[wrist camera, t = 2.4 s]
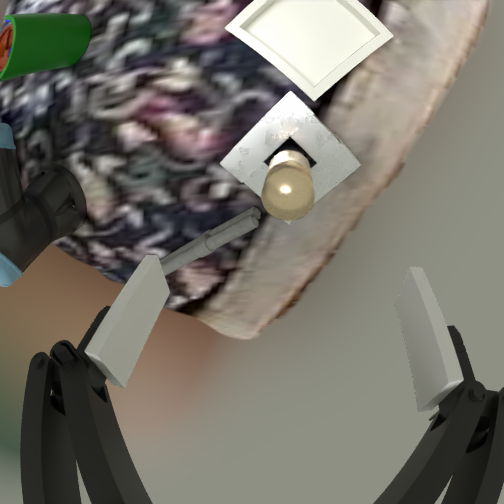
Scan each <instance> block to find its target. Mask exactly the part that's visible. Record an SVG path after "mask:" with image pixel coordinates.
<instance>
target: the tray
mask: <svg viewBox="0 0 504 504" xmlns="http://www.w3.org/2000/svg"><path fill="white" fill-rule="evenodd" d="M225 29H226V30H228V31H229V32H231V33H232V34H234V35H235V36H236V37H238V38H239V39H241V40H242V41H243V42H245V43H246V44H247V45H249V46H250V47H251V48H253V49H254V50H255V51H257V52H258V53H259V54H260V55H262V56H263V57H264V58H265V59H267V60H268V61H269V62H270V63H272V64H273V65H274V66H275V67H276V68H278V69H279V70H280V71H281V72H282V73H284V74H285V75H286V76H287V77H288V78H289V79H290V80H291V81H293V82H294V83H295V84H296V85H297V86H298V87H299V88H300V89H301V90H302V91H304V92H305V93H306V94H307V95H308V96H309V97H310V98H311V99H312V100H313V101H315V100H316V99H317V98H319V97H320V96H321V95H322V94H323V93H324V92H325V91H327V90H328V89H329V88H330V87H331V86H332V85H333V84H335V83H336V82H337V81H338V80H339V79H341V78H342V77H343V76H344V75H345V74H346V73H348V72H349V71H350V70H351V69H352V68H354V67H355V66H356V65H357V64H359V63H360V62H361V61H362V60H364V59H365V58H366V57H367V56H369V55H370V54H371V53H372V52H374V51H375V50H376V49H377V48H379V47H380V46H381V45H383V44H384V43H385V42H387V41H388V40H389V39H391V38H392V37H393V35H392V34H391V33H390V31H389V30H388V29H387V28H386V27H385V26H384V25H383V24H382V23H381V22H380V21H379V20H378V19H377V18H376V17H375V16H374V15H373V14H372V13H371V12H370V11H368V10H367V9H366V8H365V7H364V6H363V5H362V4H361V3H360V2H359V1H357V0H254V1H253V2H252V3H251V4H250V5H248V6H247V7H246V8H245V9H244V10H243V11H242V12H241V13H240V14H239V15H238V16H237V17H236V18H235V19H234V20H232V21H231V22H230V23H229V24H228V25H227V26H226V27H225Z"/></svg>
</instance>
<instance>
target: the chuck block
mask: <svg viewBox="0 0 504 504" xmlns="http://www.w3.org/2000/svg"><path fill="white" fill-rule="evenodd" d="M289 137H291V138H292V139H294V140H295V141H296V142H297V143H298V144H299V145H300V146H301V147H302V148H303V149H304V150H305V151H306V152H307V153H308V154H309V155H308V156H307V157H306V159H307V160H308V162H309V164H310V168H311V174H312V180H313V187H314V194H315V200H314V203H316V202H317V201H318V200H319V199H321V198H322V197H323V196H324V195H325V194H327V193H328V192H329V191H330V190H331V189H333V188H334V187H335V186H336V185H338V184H339V183H340V182H341V181H342V180H344V179H345V178H346V177H347V176H349V175H350V174H351V173H352V172H353V171H355V170H356V169H357V168H358V167H359V166H361V164H360V163H359V161H358V160H357V158H356V157H355V156H354V154H353V153H352V152H351V150H350V149H349V148H348V147H347V146H346V145H345V144H344V143H343V141H342V140H341V139H340V138H339V137H338V136H337V135H336V134H335V133H332V132H331V131H330V130H329V128H328V127H327V126H326V125H325V124H324V123H323V122H322V121H321V120H320V119H319V118H318V117H317V116H316V115H315V114H314V113H313V111H312V109H311V108H310V107H309V106H308V105H307V104H306V103H305V102H303V101H302V100H301V99H300V98H299V97H298V96H297V95H296V94H295V93H294V92H293V91H292V90H290V91H289V92H288V93H287V94H286V95H285V96H284V97H283V98H282V99H281V100H280V101H279V102H278V103H277V104H276V105H275V106H274V107H273V108H272V109H271V110H270V111H269V112H267V113H266V114H265V115H264V116H263V117H262V118H261V119H260V120H259V122H258V123H257V124H256V125H255V126H254V127H253V128H252V129H251V130H250V131H249V132H248V133H247V134H246V135H245V136H244V137H243V138H242V139H241V140H240V141H239V142H238V143H237V144H236V145H235V147H234V148H233V149H232V150H231V151H230V152H229V153H228V154H227V155H226V157H225V158H224V159H223V160H222V161H221V163H220V164H221V165H222V166H223V167H224V168H225V169H226V170H228V171H229V172H230V173H231V174H232V175H233V176H235V177H236V178H237V179H238V180H239V181H240V182H241V183H242V182H244V183H245V184H246V185H247V186H248V187H250V188H251V189H252V190H253V191H254V192H255V193H256V194H257V195H259V196H260V197H261V192H262V188H263V185H264V181H265V178H266V175H267V171H268V168H269V165H270V162H271V160H272V158H273V157H274V156H275V155H274V154H273V152H274V151H275V150H276V149H277V148H278V147H279V146H280V145H281V144H282V143H283V142H284V141H286V140H287V139H288V138H289ZM284 221H285V220H284ZM292 221H294V220H292ZM292 221H285V222H286V223H287V224H290V223H291V222H292Z"/></svg>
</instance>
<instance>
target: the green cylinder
mask: <svg viewBox="0 0 504 504" xmlns="http://www.w3.org/2000/svg"><path fill="white" fill-rule="evenodd" d="M4 20H6V21H5V22H11V23H12V25H9V26H7V27H6V28H5V29H4V30H3V32H2V33H1V35H0V81H4V80H7V79H11V78H15V77H19V76H23V75H27V74H31V73H36V72H41V71H46V70H52V69H58V68H65V67H69V66H72V65H73V64H75V63H76V62H77V61H78V60H79V59H80V58H81V57H82V55H83V54H84V52H85V50H86V49H87V46H88V44H89V41H90V36H91V25H90V22H89V20H88V19H87V17H85V16H83V15H78V14H61V13H30V14H14V15H6V16H5V19H4Z"/></svg>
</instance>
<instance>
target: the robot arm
mask: <svg viewBox="0 0 504 504" xmlns="http://www.w3.org/2000/svg"><path fill="white" fill-rule="evenodd" d="M15 149H16V147H15V145H14V141H13V135H12V129H11V127H10V126H9V125H8V124H5V123H2V124H0V286H2V287H8V286H10V285H11V284H12V283H13V282H14V281H15V280H16V279H17V278H19V277H20V276H21V275H22V273H23V272H24V271H25V270H26V269H27V267H28V266H29V265H30V264H31V263H32V262H33V261H34V260H35V259H36V258H37V257H38V256H39V254H40V253H41V252H42V251H43V250H44V249H45V248H46V247H47V246H48V245H49V244H50V243H51V242H53V241H55V240H57V239H60V238H62V237H64V236H67V235H69V234H72V233H73V232H75V231H76V230H77V229H78V228H79V227H80V226H81V225H82V224H83V222H84V220H85V216H86V203H85V198H84V195H83V192H82V189H81V187H80V185H79V183H78V182H77V180H76V179H75V177H74V176H73V175H72V174H71V173H70V172H69V171H68V170H67V169H65V168H64V167H62V166H59V165H49V166H47V167H46V168H44V169H42V170H41V171H40V172H38V173H37V175H36V176H35V177H34V178H33V180H32V181H31V182H30V184H29V185H28V186H27V188H26V189H25V191H24V192H23V190H22V185H21V181H20V176H19V170H18V165H17V158H16V152H15ZM169 294H170V291H169V288H168V285H167V282H166V279H165V276H164V273H163V270H162V267H161V263H160V260H159V257H158V255H146V256H145V257H144V259H143V260H142V262H141V263H140V264H139V266H138V267H137V269H136V270H135V272H134V273H133V274H132V276H131V277H130V279H129V280H128V282H127V283H126V285H125V286H124V288H123V289H122V291H121V292H120V294H119V295H118V297H117V298H116V300H115V302H114V303H113V305H112V306H106V307H105V308H104V309H103V310H101V311H100V312H99V313H98V315H97V316H96V318H95V320H94V322H93V323H92V324H91V326H90V328H89V329H88V331H87V332H86V334H85V336H84V338H83V339H82V341H81V342H80V344H79V346H78V347H77V349H75V348H74V346H73V345H72V344H71V343H70V342H69V341H67V340H62V341H59V342H57V343H56V344H55V345H54V346H53V347H52V349H51V351H50V357H51V358H50V357H49V356H48V355H47V354H46V353H44V352H39V353H37V354H36V355H34V357H33V358H32V359H31V362H30V366H29V371H28V376H27V382H26V389H25V396H24V404H23V413H22V426H21V449H20V458H21V459H20V460H21V483H22V493H23V503H24V504H81V497H80V491H79V484H78V476H77V466H76V460H77V463H78V467H79V470H80V473H81V476H82V479H83V482H84V485H85V487H86V490H87V493H88V496H89V498H90V501H91V503H92V504H152V502H151V500H150V498H149V496H148V494H147V492H146V490H145V488H144V486H143V484H142V482H141V480H140V477H139V475H138V473H137V471H136V469H135V467H134V464H133V462H132V459H131V457H130V454H129V452H128V449H127V447H126V444H125V442H124V439H123V436H122V434H121V431H120V428H119V425H118V422H117V419H116V416H115V413H114V410H113V406H112V403H111V400H110V397H109V393H108V389H107V386H106V384H105V381H106V379H108V380H109V381H110V382H111V383H112V384H114V385H116V386H119V387H122V388H125V387H126V384H127V382H128V380H129V378H130V375H131V373H132V371H133V369H134V366H135V364H136V362H137V360H138V357H139V355H140V353H141V351H142V349H143V347H144V345H145V343H146V340H147V338H148V336H149V334H150V332H151V330H152V328H153V326H154V324H155V322H156V320H157V318H158V316H159V313H160V312H161V309H162V308H163V306H164V304H165V302H166V300H167V298H168V296H169ZM395 307H396V310H397V314H398V318H399V321H400V325H401V329H402V333H403V337H404V340H405V345H406V349H407V354H408V358H409V363H410V367H411V373H412V378H413V383H414V389H415V395H416V402H417V408H418V412H423V411H428V410H432V409H434V407H436V406H437V405H438V404H439V411H438V412H436V413H435V414H434V415H433V416H432V417H431V418H430V419H429V420H430V421H431V420H432V419H433V418H434V419H433V421H432V423H431V424H430V426H429V428H428V430H427V431H426V433H425V434H424V436H423V438H422V439H421V441H420V443H419V444H418V446H417V447H416V449H415V450H414V452H413V453H412V455H411V456H410V458H409V459H408V461H407V462H406V463H405V465H404V466H403V468H402V469H401V470H400V472H399V473H398V474H397V476H396V477H395V478H394V480H393V481H392V482H391V484H390V485H389V486H388V487H387V488H386V489H385V491H384V492H383V493H382V494H381V495H380V497H379V498H378V499H377V500H376V501H375V502H374V503H373V504H434V503H435V502H436V500H437V499H438V497H439V496H440V494H441V493H442V491H443V490H444V488H445V487H446V485H447V483H448V482H449V480H450V478H451V476H452V475H453V476H452V479H451V481H450V484H449V487H448V489H447V492H446V494H445V496H444V499H443V501H442V503H441V504H497V502H498V499H499V496H500V493H501V490H502V486H503V483H504V387H503V388H502V389H501V390H500V391H499V392H497V391H490V390H486V389H485V387H484V386H483V384H481V383H480V382H478V381H476V380H475V377H474V374H473V370H472V367H471V364H470V361H469V358H468V355H467V352H466V349H465V346H464V345H463V340H462V338H461V335H460V333H459V332H458V331H457V329H456V328H455V327H454V326H446V323H445V321H444V318H443V315H442V313H441V310H440V308H439V305H438V303H437V300H436V298H435V296H434V293H433V291H432V289H431V287H430V284H429V282H428V280H427V278H426V276H425V273H424V271H423V269H422V267H409V269H408V272H407V275H406V277H405V280H404V283H403V285H402V288H401V291H400V293H399V296H398V298H397V301H396V304H395ZM51 391H52V395H50V394H51Z"/></svg>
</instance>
